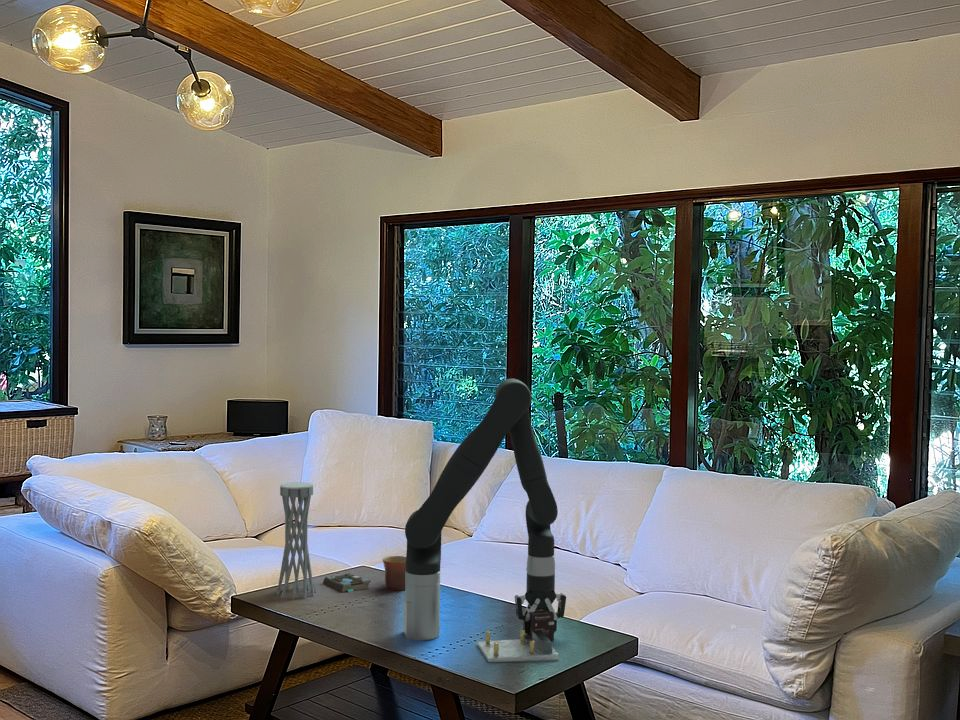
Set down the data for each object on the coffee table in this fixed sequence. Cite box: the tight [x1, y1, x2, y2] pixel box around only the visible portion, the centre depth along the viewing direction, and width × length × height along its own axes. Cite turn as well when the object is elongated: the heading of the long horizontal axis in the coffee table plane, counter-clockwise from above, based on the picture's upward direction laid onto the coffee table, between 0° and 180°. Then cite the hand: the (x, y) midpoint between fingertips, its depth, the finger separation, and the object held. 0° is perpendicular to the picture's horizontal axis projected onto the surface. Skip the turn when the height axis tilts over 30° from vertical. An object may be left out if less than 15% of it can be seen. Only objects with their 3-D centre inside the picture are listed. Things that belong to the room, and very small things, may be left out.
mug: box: [382, 555, 406, 592], centre depth 303 cm, size 12×9×10 cm
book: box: [322, 571, 372, 593], centre depth 301 cm, size 20×12×5 cm, turn 37°
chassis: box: [476, 628, 560, 663], centre depth 245 cm, size 18×13×4 cm
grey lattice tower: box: [275, 482, 317, 600], centre depth 290 cm, size 14×13×35 cm
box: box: [525, 609, 555, 642], centre depth 258 cm, size 6×6×7 cm
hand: (539, 633), depth 258 cm, fingers closed on box, 6 cm apart
